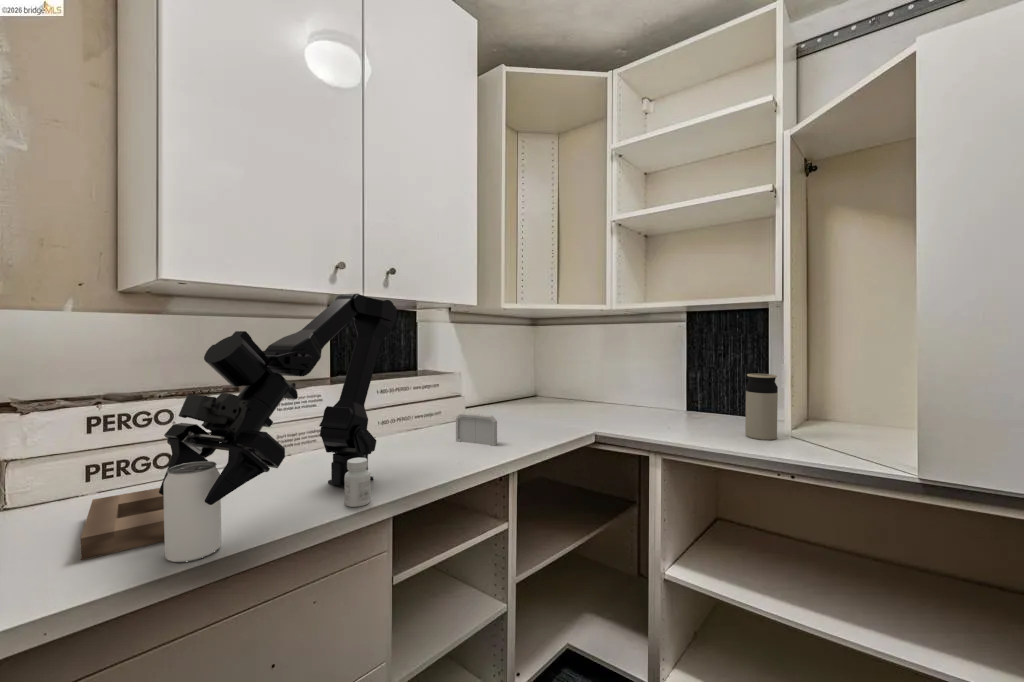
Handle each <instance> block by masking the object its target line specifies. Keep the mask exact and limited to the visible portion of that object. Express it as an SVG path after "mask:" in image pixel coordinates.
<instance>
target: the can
mask: <svg viewBox="0 0 1024 682" xmlns="http://www.w3.org/2000/svg"><path fill="white" fill-rule="evenodd" d="M167 469H168V468H167ZM167 469H166V472H168V475H167V477H166V479H165V481H164V541H163V542H164V556H165V557H164V558H165V560H168V561H169V562H170V561H171V562H170V563H174V562H185V563H187V562H186V561H191V562H193V561H192V560H195V561H197V560H196V559H199V560H201V559H200V558H202V557H205V556H207V557H209V556H210V555H209V554H211V555H213V554H214V553H215V552H214V551H216V550H217V549H218V550H219V549H220V547H221V545H222V503H221V502H222V501H221V500H222V499H220V500H219V501H217V502H216V503H214V504H213V505H208V504H207V503H205V499H206V497H207V495H208V493H209V491H210V490H211V488H212V486H213V485H214V483H215V482H216V480H217V479H218V477H219V475H220V474H221V472H219V470H218V468H217V463H216V462H215V461H209V460H208V461H199V462H191V463H185V464H181V465H177V466H174V467H171V468H169V469H168V470H167ZM218 550H217V551H218ZM217 551H216V552H217ZM212 553H213V554H212ZM208 555H209V556H208ZM205 558H206V557H205ZM202 559H203V558H202Z"/></svg>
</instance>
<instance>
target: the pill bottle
mask: <svg viewBox="0 0 1024 682" xmlns="http://www.w3.org/2000/svg"><path fill="white" fill-rule="evenodd" d="M367 466H368V467H369V460H368V461H367V459H366V458H352V459H349V460H348V461H347V469H348V470H349V471H348V472H347V473H346V474H345V488H344V504H345V505H346V506H347V507H350V508H357V507H362V506H363V507H364V506H366V505H368V504H369V503H370V502H371V497H372V496H371V481H370V476H371V471H369V469H368V470H366V468H367Z"/></svg>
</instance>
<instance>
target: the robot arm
mask: <svg viewBox="0 0 1024 682" xmlns="http://www.w3.org/2000/svg"><path fill="white" fill-rule="evenodd" d="M397 316H398V309H397V307H396V306H395V305H394V303H393V302H392V300H390V299H378V298H373V297H368V296H365V295H364V294H363V295H362V294H359V293H342V294H339V295H338V296H336V298H335V300H334V301H333V302H332V303H331V304H330V305H328V306H327V307H326V308H325V309H324V310H323V311H321V312H320V313H319V314H318V315H316V316H315V317H314V318H313V319H312V320H311V321H309V323H307V324H306V325H305V326H304V327H303V328H301V330H299V331H297V332H293V333H291V334H288V335H285V336H283V337H281V338H280V339H278V340H276V341H274V342H272V343H271V344H270V345H268V346H266V347H267V348H265V349H264V350H262V349H261V348H260V347H259V346H258V344H256V342H255V341H254V340H253V338H252V337H251V335H250V334H249V333H248V332H247V331H244V330H239V331H238V330H236V331H234V332H233V333H232V334H231V336H227V337H225V338H223V339H220V340H219V341H218V342H216V343H215V344H211V346H210V347H209V348H208V349H207V350H206V352H204V353H205V354H204V357H203V359H204V361H205V363H207V364H208V366H210V368H211V369H213V370H214V371H215V373H217V374H218V375H220V376H221V378H222V379H224V380H225V381H226V382H227V383H228V384H229V385H230V386H232V387H235V388H237V387H242V386H243V388H242V389H241V391H240V392H239V393H238V394H237V395H236V394H233V393H228V392H227V393H226V392H221V393H220V394H219V395H218V396H217V397H215V396H209V395H204V394H203V395H202V394H189V393H188V394H187V395H186V397H185V399H184V401H183V404H182V407H180V408H181V409H180V411H179V413H178V417H179V418H184V419H187V418H189V419H193V420H197V421H200V422H203V423H201V425H198V424H196V423H189V422H188V423H187V422H180V423H173V424H172V425H171V426H170V428H169V429H168V430H167V431H166V432H165V433H164V437H165V438H166V439H167V440H166V442H167V444H168V445H170V450H171V458H170V461H169V463H168V467H167V468H166V472H165V475H164V477H163V479H162V482H161V484H160V487H159V488H160V490H159V493H160V494H161V495H163V496H164V481H165V479H166V477H167V475H168V472H167V470H168V469H169V468H171V467H174V466H177V465H181V464H185V463H191V462H199V461H209V460H208V459H207V458H208V457H210V456H212V455H213V454H214V453H215V451H217V450H219V451H227V452H228V455H227V456H228V457H227V458H228V459H227V463H226V465H225V466H224V467H223V469H222V471H221V472H220V475H219V477H218V479H217V480H216V482H215V483H214V485H213V486H212V488H211V490H210V491H209V493H208V495H207V497H206V499H205V503H207V504H208V505H213V504H214V503H216V502H217V501H219V500H220V499H221V500H222V499H223V498H225V497H226V496H227V495H229V494H230V493H233V491H235V490H237V489H238V488H240V487H241V486H243V485H244V484H246V483H249V481H251V480H253V479H255V478H257V477H258V476H260V475H262V474H263V473H269V472H270V470H271V468H273V469H279V468H280V466H281V464H282V462H283V461H284V459H285V457H286V448H285V447H284V446H283V445H282V444H281V443H279V441H277V440H276V439H275V438H274V437H273V436H272V435H271V434H269V433H268V432H267V431H261V430H262V429H263V428H264V427H265V428H271V427H272V425H273V423H274V421H273V420H272V419H271V416H272V415H273V413H274V411H275V410H276V409H277V408H278V407H279V405H280V404H281V403H282V401H283V399H289V400H296V399H298V398H299V396H298V395H299V394H298V390H297V387H296V385H297V383H295V382H289V381H288V380H287V379H286V378H285V377H305V376H307V375H309V374H310V373H311V372H312V371H313V369H314V368H315V367H316V365H317V364H318V363H319V361H320V360H321V357H322V350H323V348H324V347H325V346H326V345H327V344H328V343H329V342H330V341H331V340H332V339H333V338H335V336H336V335H337V334H338V333H340V331H341V330H343V328H345V327H347V325H348V324H349V323H350V322H352V320H353V324H354V327H355V330H356V333H357V337H356V339H355V343H354V344H355V345H354V348H353V351H352V354H351V358H350V362H349V365H348V368H347V371H346V375H345V379H344V383H343V386H342V389H341V393H340V396H339V399H338V401H337V402H336V403H335V404H334V405H333V406H330V405H327V406H326V407H325V408H324V410H323V411H324V412H323V416H322V419H321V421H320V423H319V424H318V426H319V427H320V430H319V437H321V439H322V444H323V447H324V449H325V452H326V453H332V461H331V463H330V464H331V466H330V467H331V468H330V470H331V471H330V472H331V474H330V475H331V479H329V480H327V484H329V485H333V486H337V487H341V488H344V489H345V474H346V473H347V472H348V471H349V470H348V469H347V461H348V460H349V459H352V458H366V459H367V461H368V462H369V455H371V454H372V453H373V452H374V451H376V446H377V439H376V438H375V437H374V436H373V434H372V433H371V432H370V431H369V430H368V425H369V416H368V414H367V411H366V408H365V405H366V399H367V397H368V392H369V388H370V385H371V380H372V378H373V374H374V369H375V366H376V363H377V358H378V356H379V355H378V354H379V351H380V347H381V344H382V341H383V340H384V339H385V338H386V337H388V335H389V334H390V333H391V332H392V330H393V328H394V326H395V323H396V321H397V318H398V317H397ZM284 376H285V377H284ZM201 426H202V427H203V428H204V429H203V428H202V427H201ZM206 430H207V431H208V430H209V431H210V433H209V432H207V431H206ZM366 470H368V471H369V465H368V466H367V468H366ZM372 480H374V476H371V475H370V482H371V481H372Z"/></svg>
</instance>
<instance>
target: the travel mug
mask: <svg viewBox="0 0 1024 682" xmlns="http://www.w3.org/2000/svg"><path fill="white" fill-rule="evenodd" d="M746 376H747V377H748V381H747V383H746V384H745V433H744V434H745V436H746V437H747V438H750V439H754V440H761V441H773V440H776V439H777V438H778V402H779V401H778V396H779V395H778V385H777V383H776V378H777V377H778V375H776V374H772V373H771V374H769V373H747V374H746Z"/></svg>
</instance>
